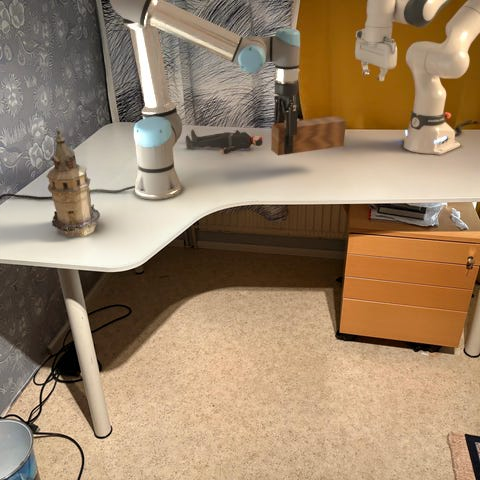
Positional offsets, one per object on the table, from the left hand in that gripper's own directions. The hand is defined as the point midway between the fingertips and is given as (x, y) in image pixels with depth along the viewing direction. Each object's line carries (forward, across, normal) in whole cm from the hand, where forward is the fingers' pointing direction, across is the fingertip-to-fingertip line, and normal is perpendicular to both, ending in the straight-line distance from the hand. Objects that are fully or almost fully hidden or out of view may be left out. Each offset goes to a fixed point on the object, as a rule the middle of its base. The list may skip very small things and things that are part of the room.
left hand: (284, 150), depth 182 cm
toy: (+10, +37, +9) cm, 39 cm away
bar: (0, 0, -9) cm, 9 cm away
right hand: (-21, +2, -34) cm, 40 cm away
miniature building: (+10, -12, +71) cm, 73 cm away
